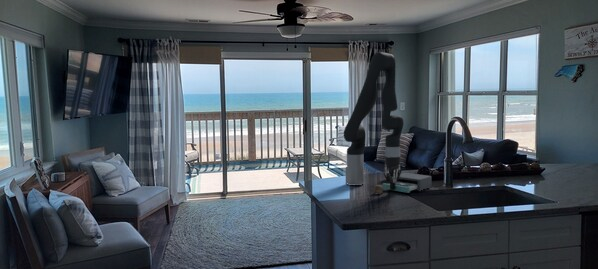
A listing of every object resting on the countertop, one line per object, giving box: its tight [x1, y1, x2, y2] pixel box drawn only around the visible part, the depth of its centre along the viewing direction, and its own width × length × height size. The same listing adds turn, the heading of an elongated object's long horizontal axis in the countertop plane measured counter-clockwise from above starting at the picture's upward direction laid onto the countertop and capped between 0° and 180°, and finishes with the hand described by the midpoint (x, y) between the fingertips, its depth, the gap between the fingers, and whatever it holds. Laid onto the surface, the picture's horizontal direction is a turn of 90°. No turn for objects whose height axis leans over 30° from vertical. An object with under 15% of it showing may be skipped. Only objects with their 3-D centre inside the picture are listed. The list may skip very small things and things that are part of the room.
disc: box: [396, 183, 407, 187], centre depth 214 cm, size 6×6×2 cm
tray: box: [382, 182, 418, 194], centre depth 215 cm, size 15×12×3 cm
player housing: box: [396, 172, 433, 192], centre depth 222 cm, size 16×12×6 cm
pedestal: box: [373, 184, 383, 195], centre depth 209 cm, size 4×4×4 cm
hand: (392, 189), depth 209 cm, fingers closed
